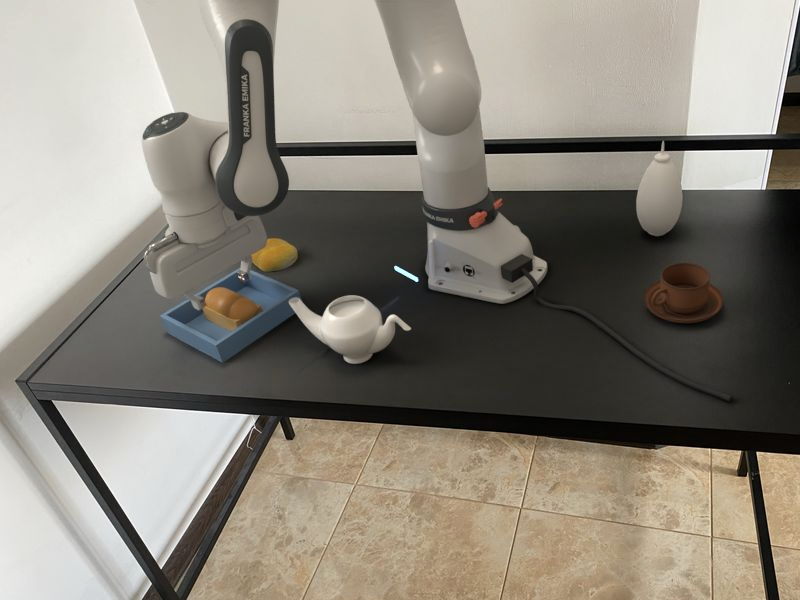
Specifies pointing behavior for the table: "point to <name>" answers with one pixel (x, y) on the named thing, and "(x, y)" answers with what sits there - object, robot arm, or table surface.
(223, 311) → the loaf
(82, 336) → the table surface
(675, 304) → the cup and saucer
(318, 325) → the teapot
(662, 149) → the white air blower bulb
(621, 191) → the table surface
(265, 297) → the tray
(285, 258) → the bread roll
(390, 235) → the table surface
